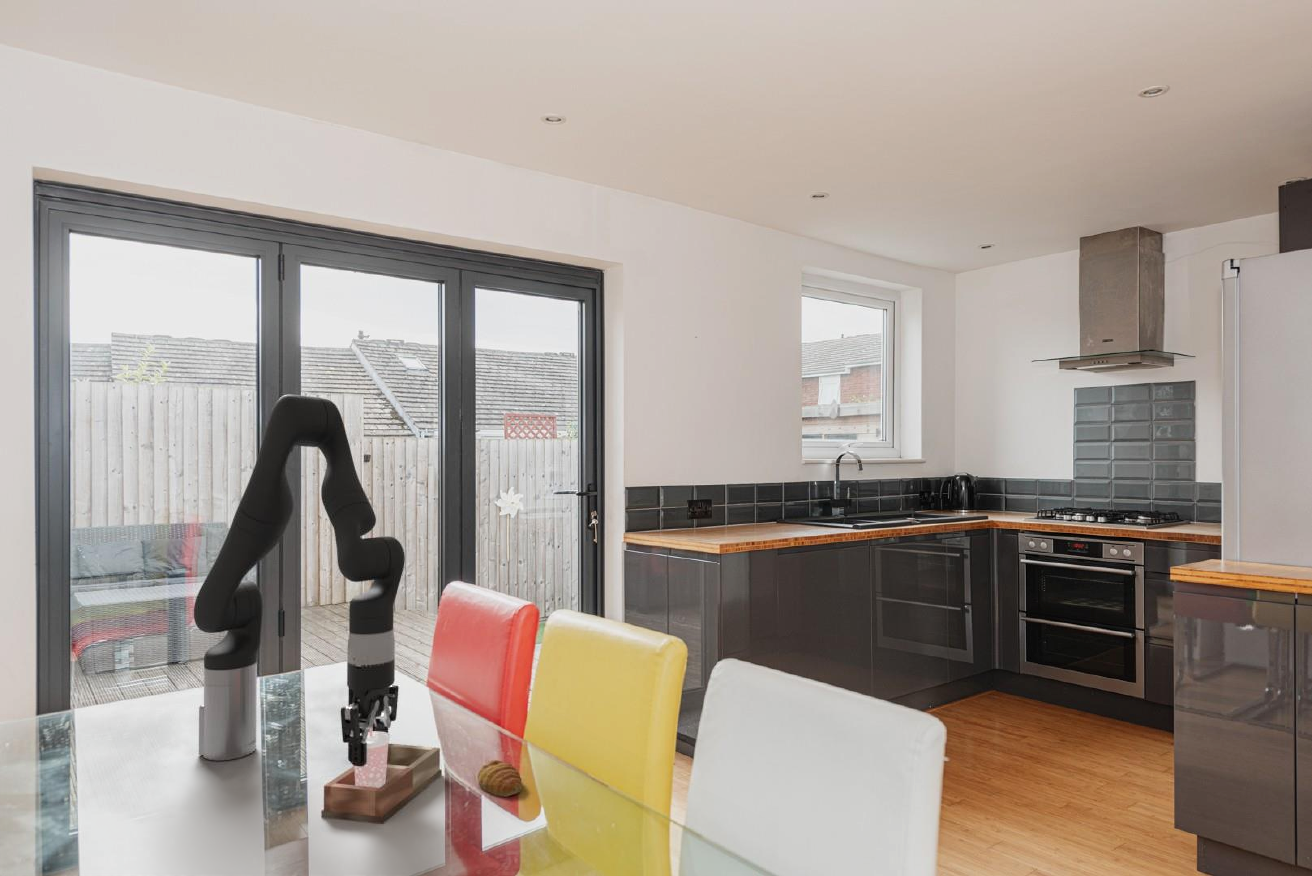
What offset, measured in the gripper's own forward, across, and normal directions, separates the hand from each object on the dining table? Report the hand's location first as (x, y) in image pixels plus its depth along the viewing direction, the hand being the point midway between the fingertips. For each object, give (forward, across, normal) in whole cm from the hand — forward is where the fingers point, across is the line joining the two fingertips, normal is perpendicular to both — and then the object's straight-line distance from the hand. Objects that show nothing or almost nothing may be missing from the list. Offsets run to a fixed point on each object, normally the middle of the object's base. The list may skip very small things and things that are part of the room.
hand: (370, 757), depth 138 cm
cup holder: (+8, -4, 0) cm, 9 cm away
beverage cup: (+6, 0, 0) cm, 6 cm away
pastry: (+8, -12, +18) cm, 24 cm away
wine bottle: (+8, -20, -13) cm, 25 cm away
